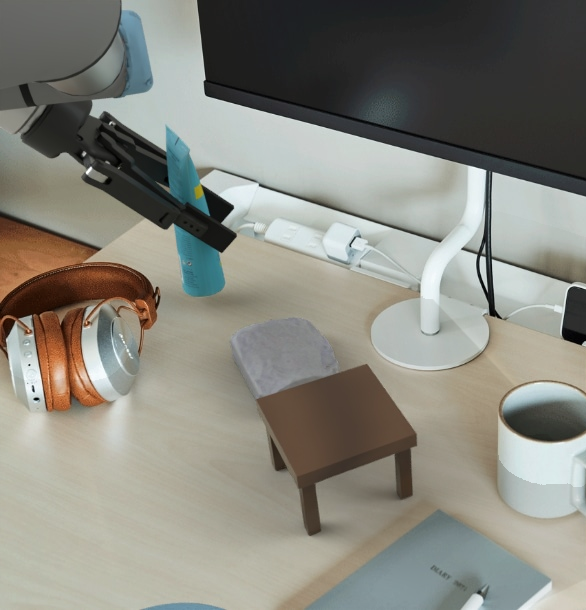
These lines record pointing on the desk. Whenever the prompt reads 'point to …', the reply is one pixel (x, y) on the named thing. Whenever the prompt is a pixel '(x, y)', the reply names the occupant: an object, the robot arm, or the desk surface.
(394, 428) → the stool
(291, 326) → the stone block
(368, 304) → the desk surface
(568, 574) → the desk surface
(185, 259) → the tube
